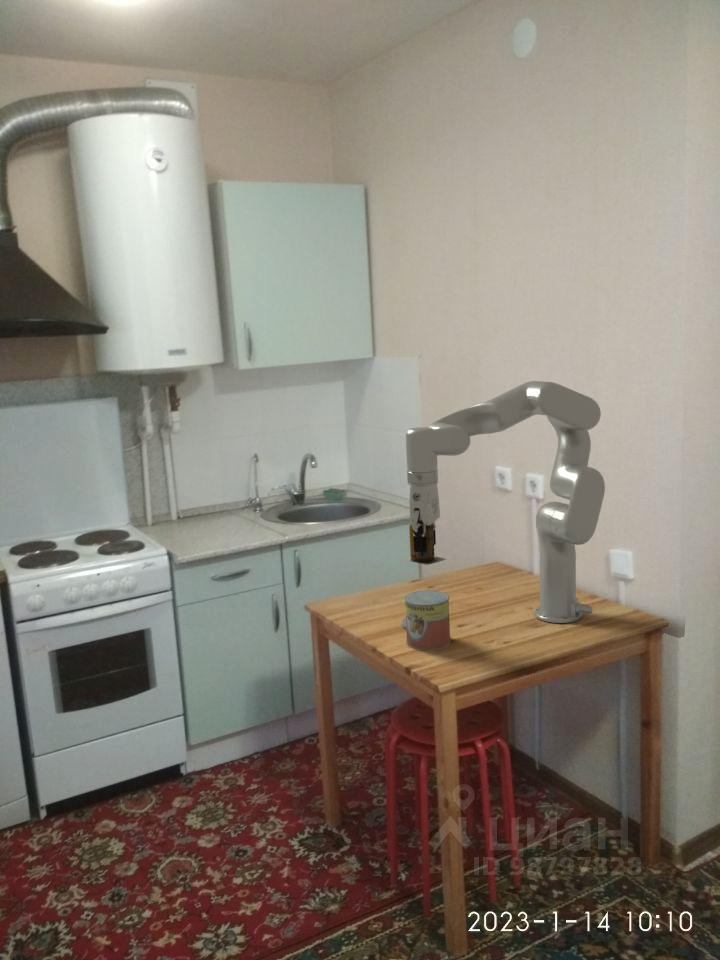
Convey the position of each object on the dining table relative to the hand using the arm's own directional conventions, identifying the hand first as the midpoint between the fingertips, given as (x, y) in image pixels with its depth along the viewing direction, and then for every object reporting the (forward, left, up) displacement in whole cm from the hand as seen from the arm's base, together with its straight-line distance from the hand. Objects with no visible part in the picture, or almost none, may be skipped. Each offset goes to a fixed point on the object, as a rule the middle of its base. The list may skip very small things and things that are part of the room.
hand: (425, 547), depth 198 cm
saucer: (+6, -11, -25) cm, 28 cm away
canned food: (0, 0, -25) cm, 25 cm away
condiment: (0, +1, -3) cm, 3 cm away
